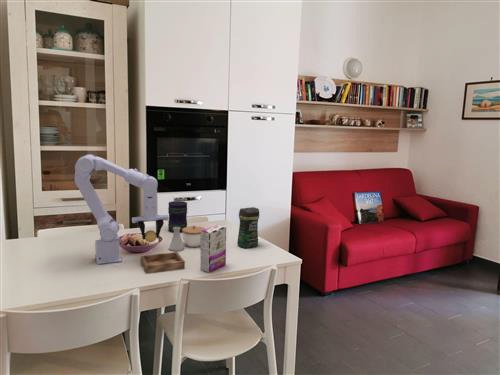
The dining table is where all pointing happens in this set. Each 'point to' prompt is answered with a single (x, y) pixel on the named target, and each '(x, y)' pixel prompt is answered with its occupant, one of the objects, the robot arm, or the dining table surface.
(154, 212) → the robot arm
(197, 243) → the lidded jar
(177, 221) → the storage jar
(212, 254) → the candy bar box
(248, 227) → the coffee jar
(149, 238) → the ball
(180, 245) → the flask
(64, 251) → the dining table surface
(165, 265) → the tray
